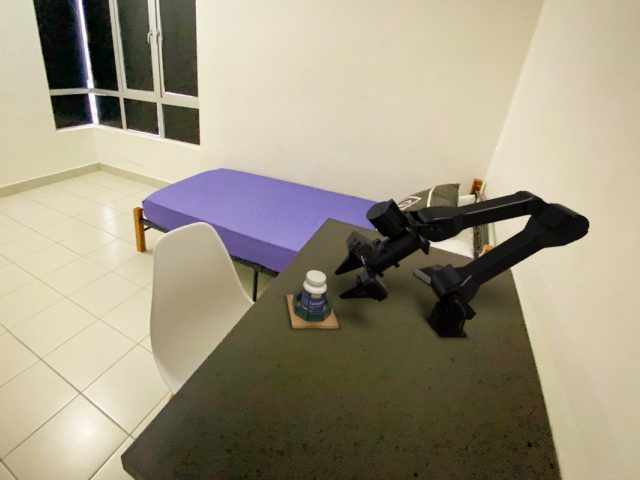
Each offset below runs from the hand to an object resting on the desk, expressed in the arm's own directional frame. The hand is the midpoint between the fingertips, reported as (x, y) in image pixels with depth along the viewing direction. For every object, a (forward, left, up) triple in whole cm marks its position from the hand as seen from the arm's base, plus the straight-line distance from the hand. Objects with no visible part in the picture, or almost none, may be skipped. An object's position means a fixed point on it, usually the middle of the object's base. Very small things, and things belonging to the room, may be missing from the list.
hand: (337, 285), depth 80 cm
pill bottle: (+5, -1, -8) cm, 10 cm away
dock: (+5, -1, -9) cm, 10 cm away
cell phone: (-36, -17, -9) cm, 40 cm away
